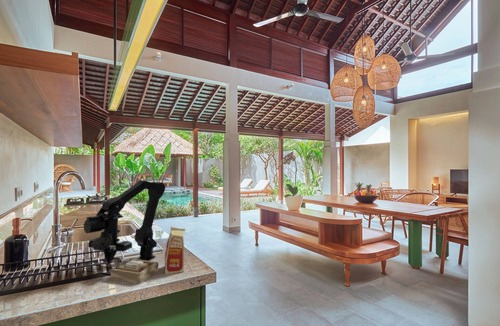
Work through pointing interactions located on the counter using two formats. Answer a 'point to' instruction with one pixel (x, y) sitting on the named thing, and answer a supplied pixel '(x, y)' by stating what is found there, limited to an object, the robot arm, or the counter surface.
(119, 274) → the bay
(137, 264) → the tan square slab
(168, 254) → the milk carton
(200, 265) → the counter surface
